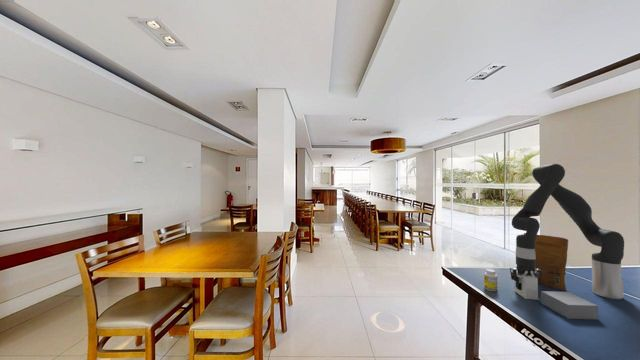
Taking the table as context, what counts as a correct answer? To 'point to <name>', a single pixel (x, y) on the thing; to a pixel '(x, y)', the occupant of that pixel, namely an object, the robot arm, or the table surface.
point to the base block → (569, 305)
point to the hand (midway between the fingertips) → (525, 289)
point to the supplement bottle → (490, 280)
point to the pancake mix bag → (551, 260)
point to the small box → (528, 287)
